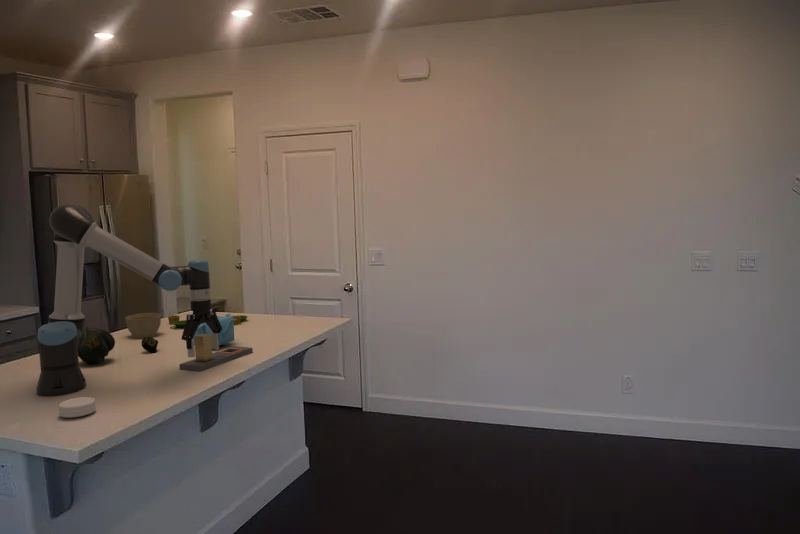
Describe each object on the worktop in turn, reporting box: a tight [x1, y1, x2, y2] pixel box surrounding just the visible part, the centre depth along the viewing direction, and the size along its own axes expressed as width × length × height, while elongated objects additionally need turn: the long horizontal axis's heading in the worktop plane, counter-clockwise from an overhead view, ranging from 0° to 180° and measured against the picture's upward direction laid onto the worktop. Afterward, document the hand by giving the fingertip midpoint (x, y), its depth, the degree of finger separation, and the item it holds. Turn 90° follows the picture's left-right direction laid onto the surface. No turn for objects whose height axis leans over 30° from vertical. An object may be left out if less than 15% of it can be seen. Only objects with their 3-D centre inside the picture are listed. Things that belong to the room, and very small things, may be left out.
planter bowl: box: [124, 312, 162, 340], centre depth 296 cm, size 16×16×11 cm
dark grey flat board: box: [179, 345, 254, 372], centre depth 246 cm, size 32×10×2 cm, turn 156°
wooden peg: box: [194, 334, 213, 363], centre depth 238 cm, size 4×4×12 cm
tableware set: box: [167, 315, 248, 331], centre depth 325 cm, size 41×28×6 cm
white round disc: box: [58, 396, 97, 419], centre depth 185 cm, size 10×10×4 cm
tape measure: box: [140, 336, 159, 354], centre depth 264 cm, size 7×7×4 cm
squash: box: [78, 326, 116, 365], centre depth 246 cm, size 14×15×15 cm
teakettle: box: [192, 312, 237, 351], centre depth 272 cm, size 19×19×15 cm
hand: (203, 353), depth 238 cm, fingers open, 13 cm apart
